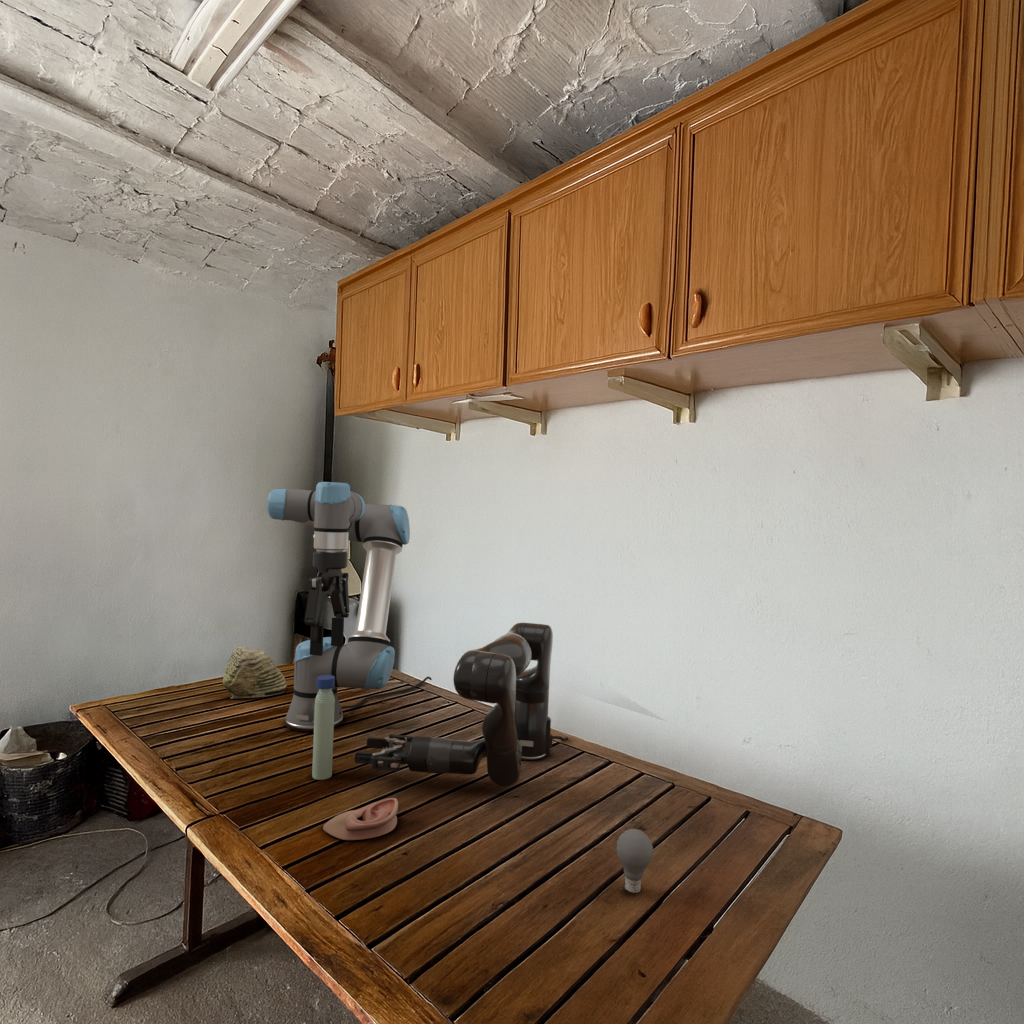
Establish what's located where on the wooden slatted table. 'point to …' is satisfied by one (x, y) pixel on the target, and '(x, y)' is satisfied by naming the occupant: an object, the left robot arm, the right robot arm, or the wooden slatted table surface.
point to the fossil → (252, 674)
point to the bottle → (323, 734)
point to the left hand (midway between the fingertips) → (326, 650)
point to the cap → (325, 682)
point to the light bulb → (634, 857)
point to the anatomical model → (364, 821)
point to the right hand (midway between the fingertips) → (361, 749)
